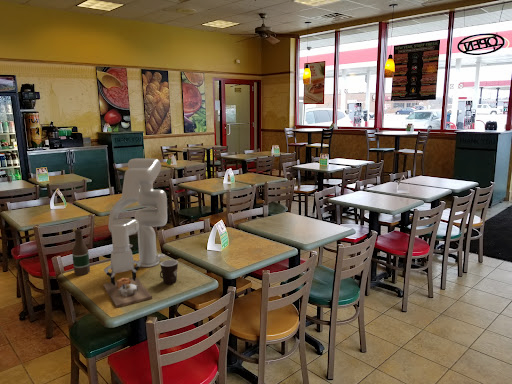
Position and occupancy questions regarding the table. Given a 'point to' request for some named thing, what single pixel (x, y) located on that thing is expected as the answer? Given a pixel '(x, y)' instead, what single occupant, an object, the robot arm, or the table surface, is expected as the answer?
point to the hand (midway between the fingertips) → (123, 282)
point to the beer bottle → (80, 255)
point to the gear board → (127, 293)
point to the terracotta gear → (123, 282)
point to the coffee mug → (169, 271)
